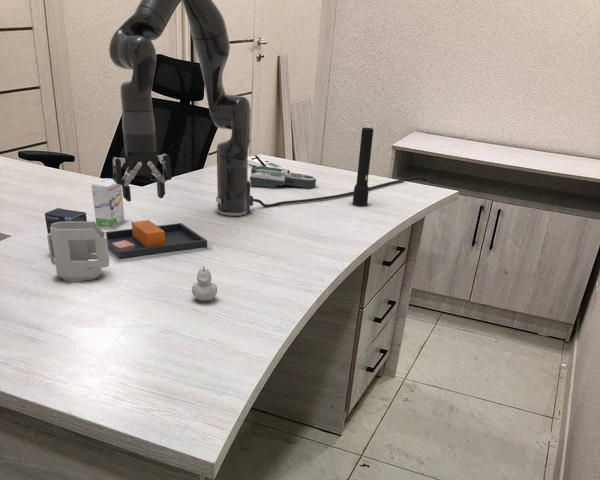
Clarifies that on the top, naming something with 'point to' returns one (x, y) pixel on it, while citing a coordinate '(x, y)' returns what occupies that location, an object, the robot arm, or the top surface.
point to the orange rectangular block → (147, 234)
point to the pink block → (124, 245)
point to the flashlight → (363, 169)
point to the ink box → (108, 202)
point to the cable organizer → (78, 249)
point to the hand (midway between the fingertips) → (144, 199)
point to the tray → (175, 240)
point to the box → (63, 218)
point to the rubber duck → (204, 286)
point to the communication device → (278, 177)
